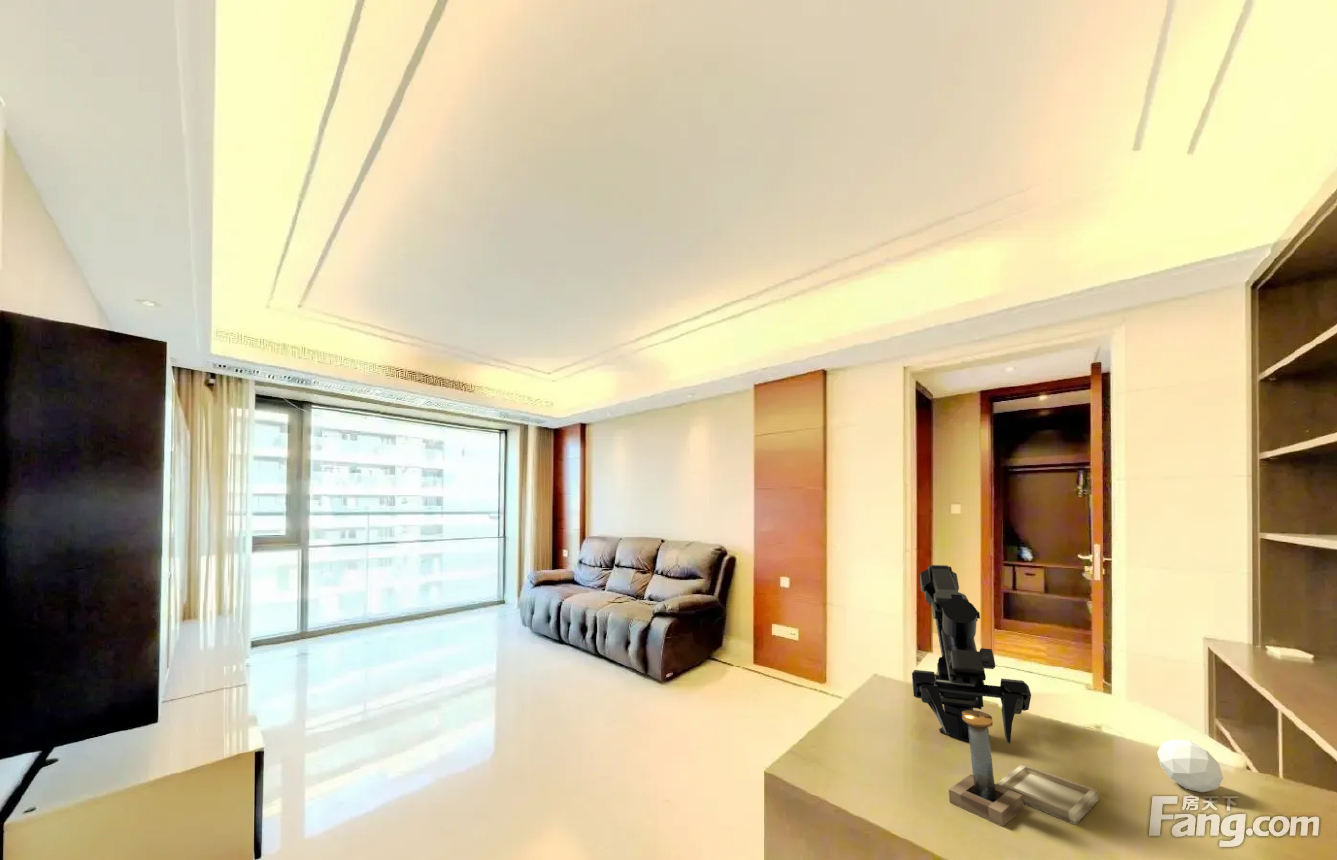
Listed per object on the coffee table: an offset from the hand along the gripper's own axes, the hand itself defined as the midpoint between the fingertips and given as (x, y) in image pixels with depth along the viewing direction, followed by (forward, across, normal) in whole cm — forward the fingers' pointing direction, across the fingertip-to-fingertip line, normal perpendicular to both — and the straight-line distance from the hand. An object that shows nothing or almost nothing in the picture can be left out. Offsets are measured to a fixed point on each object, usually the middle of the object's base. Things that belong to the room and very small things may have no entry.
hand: (977, 738), depth 85 cm
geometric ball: (-5, +34, +19) cm, 39 cm away
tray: (+3, +10, +10) cm, 15 cm away
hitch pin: (+8, 0, +6) cm, 10 cm away
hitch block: (+8, 0, +6) cm, 10 cm away
